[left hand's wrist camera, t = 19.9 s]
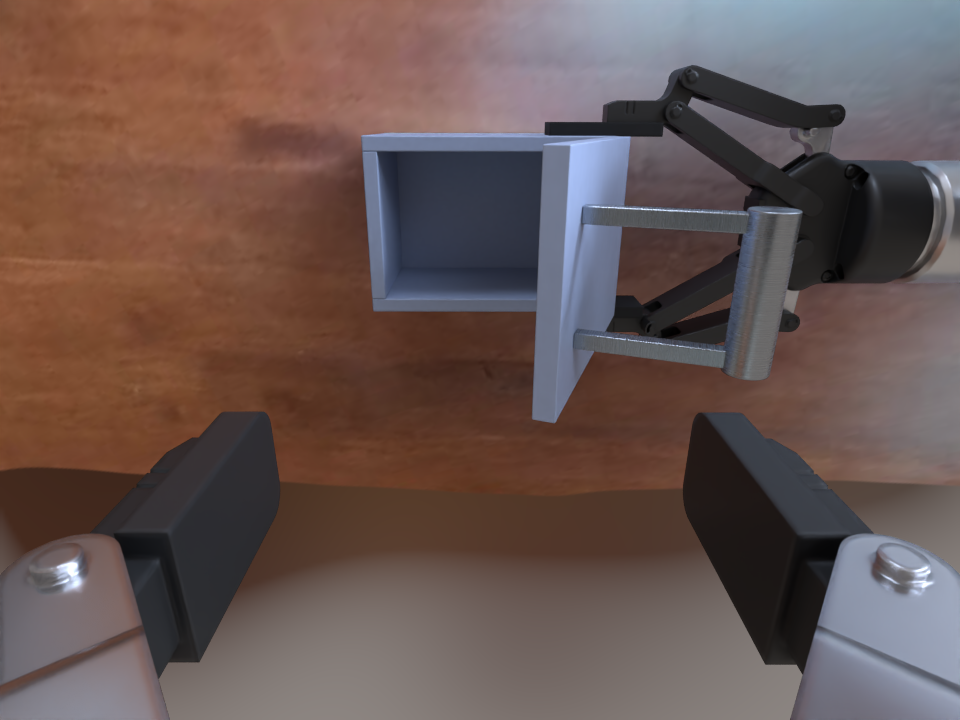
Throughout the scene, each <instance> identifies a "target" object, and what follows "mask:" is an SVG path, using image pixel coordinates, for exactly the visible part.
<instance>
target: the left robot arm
mask: <svg viewBox="0 0 960 720" xmlns="http://www.w3.org/2000/svg"><path fill="white" fill-rule="evenodd" d="M279 499H280V482H279V475H278V468H277V462H276V455H275V448H274V442H273V435H272V428H271V423H270V419H269V417H268V415H267V414H266V413H265V412H222V413H221V414H220V415H219V416H218V417H217V418H216V419H215V420H214V421H213V422H212V423H211V425H210V426H209V427H208V428H207V429H206V430H205V431H204V432H203V433H202V435H201V436H200V437H199V438H191V439H189V440H187V441H186V442H184V443H182V444H181V445H179V446H177V447H175V448H174V449H172V450H170V451H168V452H167V453H166V454H165V455H164V456H163V457H162V458H161V459H160V460H159V461H158V462H157V463H156V464H155V465H154V466H153V468H152V469H151V472H150V473H147V474H146V475H145V476H144V477H143V478H142V479H141V480H140V481H139V482H138V483H137V487H136V488H133V489H132V490H131V491H130V492H129V493H128V494H127V495H126V496H125V497H124V498H123V499H122V500H121V501H120V502H119V503H118V504H117V505H116V506H115V507H114V508H113V509H112V511H111V512H110V513H109V514H108V515H107V516H106V517H105V518H104V519H103V520H102V521H101V522H100V523H99V524H98V525H97V526H96V527H95V528H94V529H93V530H92V531H91V532H90V534H80V535H74V536H69V537H65V538H62V539H58V540H55V541H53V542H50V543H47V544H45V545H42V546H40V547H38V548H36V549H34V550H32V551H30V552H28V553H27V554H25V555H23V556H22V557H20V558H19V559H17V560H16V561H15V562H13V563H12V564H11V565H9V566H8V567H7V568H6V569H5V570H4V571H3V572H2V573H1V575H0V720H170V718H169V715H168V711H167V708H166V704H165V701H164V697H163V694H162V690H161V687H160V683H159V680H158V679H159V677H160V676H161V674H162V672H163V671H164V669H165V667H166V665H167V664H168V662H200V660H201V658H202V656H203V654H204V652H205V650H206V648H207V646H208V644H209V643H210V641H211V639H212V637H213V635H214V633H215V631H216V629H217V627H218V625H219V624H220V622H221V620H222V618H223V616H224V614H225V612H226V610H227V608H228V606H229V604H230V602H231V601H232V599H233V597H234V595H235V593H236V591H237V589H238V587H239V585H240V583H241V581H242V579H243V577H244V576H245V574H246V572H247V570H248V568H249V566H250V564H251V562H252V560H253V558H254V556H255V555H256V553H257V551H258V549H259V547H260V545H261V543H262V541H263V539H264V537H265V535H266V533H267V532H268V530H269V528H270V526H271V524H272V522H273V520H274V518H275V516H276V513H277V510H278V506H279ZM683 500H684V506H685V511H686V514H687V517H688V519H689V521H690V523H691V525H692V527H693V529H694V530H695V532H696V534H697V536H698V538H699V540H700V542H701V544H702V546H703V547H704V549H705V551H706V553H707V555H708V557H709V559H710V561H711V563H712V564H713V566H714V568H715V570H716V572H717V574H718V576H719V578H720V580H721V581H722V583H723V585H724V587H725V589H726V591H727V593H728V595H729V597H730V599H731V600H732V602H733V604H734V606H735V608H736V610H737V612H738V614H739V616H740V617H741V619H742V621H743V623H744V625H745V627H746V629H747V631H748V633H749V634H750V636H751V638H752V640H753V642H754V644H755V646H756V648H757V650H758V652H759V653H760V655H761V657H762V659H763V661H764V663H765V664H766V665H771V664H772V665H774V664H775V665H781V664H782V665H797V666H798V668H799V669H800V671H801V673H802V674H803V676H802V680H801V683H800V687H799V690H798V694H797V697H796V701H795V704H794V708H793V711H792V715H791V718H790V720H960V575H959V573H958V572H957V571H956V570H955V569H954V568H953V567H952V566H951V565H949V564H948V563H947V562H945V561H944V560H943V559H941V558H940V557H938V556H937V555H935V554H933V553H932V552H930V551H928V550H926V549H924V548H922V547H920V546H918V545H915V544H913V543H910V542H908V541H905V540H902V539H898V538H895V537H891V536H886V535H879V534H874V533H873V532H872V531H871V530H870V529H869V528H868V527H867V526H866V525H865V524H864V523H863V522H862V521H861V519H860V518H859V517H858V516H857V515H856V514H855V513H854V512H853V511H852V510H851V509H850V508H849V507H848V506H847V505H846V504H845V503H844V502H843V501H842V500H841V499H840V498H839V497H838V496H837V495H836V494H835V493H834V491H833V490H832V489H828V485H827V484H826V483H825V482H824V481H823V480H822V479H821V478H820V477H819V476H818V475H817V474H814V471H813V470H812V469H811V468H810V467H809V465H808V464H807V463H806V462H805V461H804V460H803V459H802V458H801V457H800V456H799V455H798V454H797V453H795V452H793V451H792V450H790V449H788V448H787V447H785V446H783V445H781V444H780V443H778V442H776V441H774V440H773V439H765V438H764V437H763V436H762V435H761V434H760V432H759V431H758V430H757V429H756V428H755V427H754V426H753V425H752V424H751V423H750V421H749V420H748V419H747V418H746V417H745V416H744V415H743V414H741V413H698V414H697V415H696V416H695V418H694V421H693V425H692V431H691V437H690V444H689V450H688V457H687V463H686V470H685V476H684V483H683Z"/></svg>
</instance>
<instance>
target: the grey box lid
mask: <svg viewBox="0 0 960 720" xmlns="http://www.w3.org/2000/svg"><path fill="white" fill-rule="evenodd" d="M629 149H630V137H627V136H613V137H604V138H595V139H586V140H577V141H568V142H559V143H550V144H544V145H543V157H542V181H541V206H540V231H539V256H538V281H537V306H536V330H535V355H534V380H533V405H532V419H533V420H539V421H545V422H550V423H555V422H556V420H557V419H558V417H559V415H560V413H561V411H562V409H563V408H564V406H565V404H566V402H567V400H568V398H569V397H570V395H571V393H572V391H573V389H574V387H575V386H576V384H577V382H578V380H579V378H580V376H581V375H582V373H583V371H584V369H585V367H586V365H587V364H588V362H589V360H590V358H591V356H592V355H593V353H594V351H595V352H603V353H610V354H618V355H626V356H634V357H641V358H649V359H657V360H664V361H672V362H680V363H687V364H695V365H703V366H710V367H718V368H721V370H722V372H724V373H725V374H727V375H729V376H732V377H735V378H738V379H743V380H763V379H766V378H768V377H769V375H770V370H771V365H772V360H773V356H774V351H775V346H776V341H777V336H778V331H779V326H780V321H781V317H782V312H783V307H784V302H785V297H786V292H787V287H788V282H789V278H790V273H791V268H792V263H793V258H794V253H795V248H796V243H797V239H798V234H799V229H800V224H801V219H802V214H803V212H802V211H801V210H799V209H794V208H787V207H774V206H755V207H750V208H748V209H747V211H728V210H707V209H686V208H665V207H644V206H624V203H625V192H626V181H627V170H628V159H629ZM622 227H637V228H654V229H670V230H687V231H704V232H721V233H738V234H743V237H742V243H741V249H740V255H739V261H738V267H737V273H736V279H735V284H734V290H733V296H732V302H731V308H730V314H729V320H728V326H727V332H726V337H725V343H724V346H721V345H713V344H705V343H696V342H688V341H679V340H671V339H662V338H654V337H645V336H637V335H628V334H620V333H611V332H605V331H606V329H607V327H608V325H609V323H610V322H611V320H612V318H613V316H614V311H615V300H616V289H617V278H618V267H619V257H620V246H621V235H622Z"/></svg>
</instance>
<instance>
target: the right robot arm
mask: <svg viewBox="0 0 960 720" xmlns="http://www.w3.org/2000/svg"><path fill="white" fill-rule="evenodd" d="M668 82H669V84H668V86H667V88H666V90H665V92H664V94H663V96H662V97H661V98H660V99H658V100H656V101H612V102H610V103H607V104H605V105H603V119H602V122H545V135H548V136H643V137H662V135H663V126H664V127H666V128H667V129H668V130H670V131H671V132H673V133H674V134H676V135H677V136H678V137H680V138H681V139H683V140H684V141H686V142H687V143H689V144H690V145H691V146H693V147H694V148H696V149H697V150H699V151H700V152H701V153H703V154H704V155H706V156H707V157H709V158H710V159H711V160H713V161H714V162H716V163H717V164H719V165H720V166H722V167H723V168H724V169H726V170H727V171H729V172H730V173H732V174H733V175H734V176H736V178H737V179H738V180H739V181H741V182H742V183H744V184H745V185H747V186H748V187H749V188H751V189H752V191H751V193H750V195H749V196H745V202H744V211H747V209H748V208H750V207H755V206H774V207H787V208H794V209H799V210H801V211H802V212H803V214H802V219H801V224H800V229H799V234H798V239H797V243H796V248H795V253H794V258H793V263H792V268H791V273H790V278H789V282H788V287H787V292H786V297H785V302H784V307H783V312H782V317H781V321H780V326H779V332H792V331H794V330H796V329H797V328H798V326H799V324H800V319H799V317H798V316H797V315H795V314H794V310H795V306H796V302H797V298H798V295H799V291H800V290H803V289H805V288H807V287H809V286H811V285H814V284H819V283H887V282H893V283H902V284H910V283H960V161H913V162H907V161H889V160H840V159H837V158H836V157H834V156H833V155H831V154H829V151H830V145H831V139H832V133H833V127H835V126H838V125H839V124H841V123H842V121H843V120H844V118H845V109H844V107H843V106H841V105H838V104H833V105H813V106H806V105H803V104H801V103H798V102H795V101H792V100H790V99H787V98H784V97H781V96H779V95H776V94H773V93H770V92H768V91H765V90H762V89H759V88H757V87H754V86H751V85H748V84H746V83H743V82H740V81H737V80H735V79H732V78H729V77H726V76H724V75H721V74H718V73H715V72H713V71H710V70H707V69H704V68H702V67H699V66H695V65H691V66H688V67H684V68H680V69H677V70H675V71H673V72H672V73H671V75H670V76H669V80H668ZM691 97H693V98H696V99H699V100H702V101H704V102H707V103H710V104H713V105H716V106H718V107H721V108H724V109H727V110H730V111H732V112H735V113H738V114H741V115H744V116H747V117H749V118H752V119H755V120H758V121H761V122H763V123H766V124H769V125H772V126H776V127H782V128H791V129H790V136H791V138H792V140H794V141H796V142H799V143H801V144H803V146H804V148H805V153H804V154H802V155H801V156H799V157H797V158H796V159H794V160H793V161H791V162H790V163H788V164H787V165H785V166H784V167H782V168H781V169H779V168H777V167H776V166H774V165H773V164H771V163H768V162H766V161H765V160H763V159H762V158H760V157H759V156H757V155H756V154H755V153H753V152H752V151H750V150H749V149H748V148H746V147H745V146H743V145H742V144H741V143H739V142H738V141H736V140H735V139H734V138H732V137H731V136H729V135H728V134H727V133H725V132H724V131H722V130H721V129H719V128H718V127H717V126H715V125H714V124H712V123H711V122H710V121H708V120H707V119H705V118H704V117H703V116H701V115H700V114H698V113H697V112H696V111H694V110H693V109H691V108H690V107H689V106H688V104H689V101H690V99H691ZM742 237H743V234H739V238H738V244H737V245H739V246H741V243H742ZM739 255H740V249H739V250H737V251H735V252H734V253H732V254H730V255H728V256H726V257H725V258H724V259H723V261H722V262H721V263H719V264H717V265H715V266H714V267H712V268H710V269H708V270H706V271H704V272H703V273H701V274H699V275H697V276H695V277H693V278H691V279H690V280H688V281H686V282H684V283H682V284H680V285H679V286H677V287H675V288H673V289H671V290H669V291H667V292H666V293H664V294H662V295H660V296H658V297H656V298H655V299H653V300H651V301H649V302H647V303H645V304H643V305H641V304H640V303H639V302H638V301H637V299H636V298H635V297H634V296H616V300H615V311H614V316H613V318H612V320H611V322H610V323H609V325H608V327H607V329H606V331H605V332H637V333H639V336H645V337H654V338H662V339H671V340H679V341H688V342H696V343H705V344H717V343H721V342H724V341H725V337H726V332H727V326H728V320H729V314H730V308H727V309H724V310H720V311H717V312H713V313H710V314H706V315H702V316H699V317H695V318H692V319H688V320H685V321H681V322H678V323H675V322H677V321H679V320H681V319H683V318H685V317H687V316H688V315H690V314H692V313H694V312H696V311H698V310H700V309H702V308H704V307H705V306H707V305H709V304H711V303H713V302H715V301H717V300H719V299H721V298H722V297H724V296H726V295H728V294H730V293H732V292H733V290H734V284H735V279H736V273H737V267H738V261H739ZM673 323H674V324H673ZM655 360H657V359H655Z"/></svg>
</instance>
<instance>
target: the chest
mask: <svg viewBox="0 0 960 720" xmlns="http://www.w3.org/2000/svg"><path fill="white" fill-rule="evenodd" d="M604 137H613V136H548V135H545V133H383V134H373V135H363V136H361V142H362V151H363V152H362V157H363V172H364V186H365V201H366V215H367V230H368V244H369V259H370V273H371V288H372V298H373V300H372V301H373V311H452V312H536V306H537V281H538V256H539V231H540V206H541V181H542V157H543V145H544V144H550V143H559V142H568V141H577V140H586V139H595V138H604Z"/></svg>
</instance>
